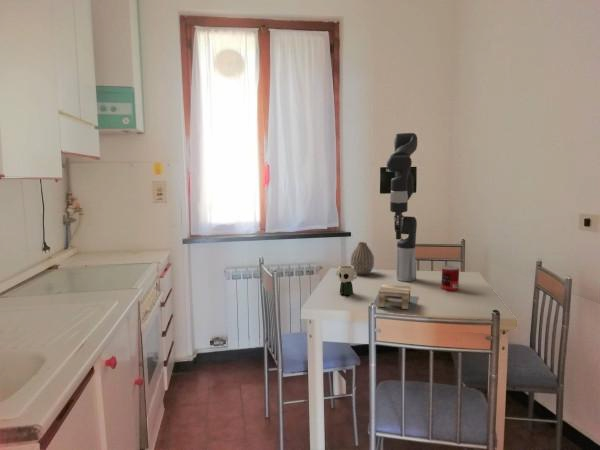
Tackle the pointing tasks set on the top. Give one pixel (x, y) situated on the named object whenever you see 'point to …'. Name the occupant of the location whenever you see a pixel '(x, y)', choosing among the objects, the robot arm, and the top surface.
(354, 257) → the vase
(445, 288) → the canned food
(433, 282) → the top surface
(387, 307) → the mat
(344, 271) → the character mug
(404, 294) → the stool
